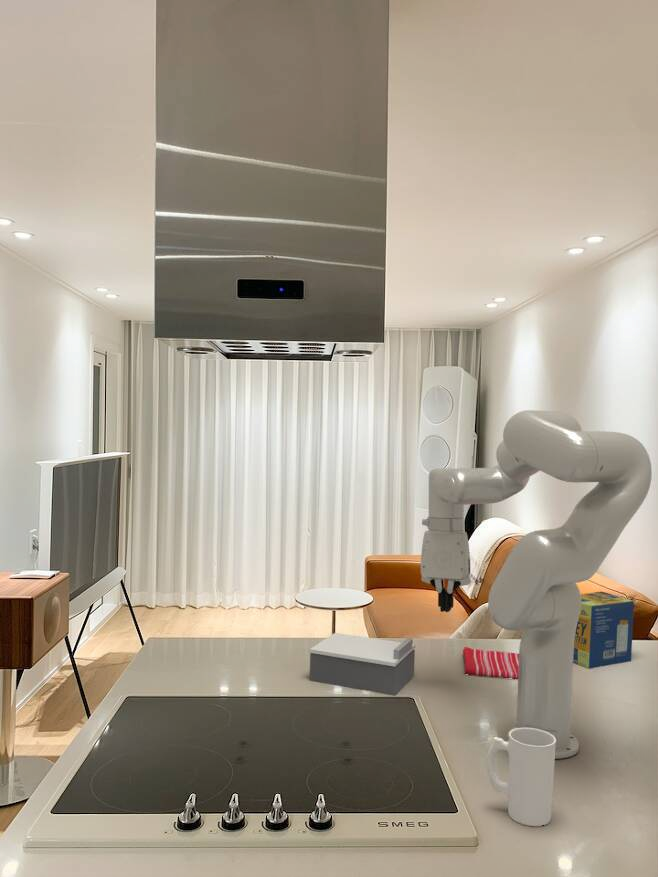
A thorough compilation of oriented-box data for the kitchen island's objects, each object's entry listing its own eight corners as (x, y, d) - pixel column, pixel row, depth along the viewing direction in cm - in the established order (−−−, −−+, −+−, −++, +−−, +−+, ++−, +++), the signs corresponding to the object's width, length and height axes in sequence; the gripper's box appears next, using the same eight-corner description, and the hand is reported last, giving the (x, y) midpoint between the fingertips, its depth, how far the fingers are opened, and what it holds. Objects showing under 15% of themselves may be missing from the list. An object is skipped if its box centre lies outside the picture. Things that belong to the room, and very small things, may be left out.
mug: (555, 810, 116) (558, 732, 115) (550, 832, 109) (553, 749, 109) (488, 796, 119) (491, 720, 119) (480, 816, 113) (483, 736, 113)
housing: (394, 695, 162) (395, 667, 162) (309, 680, 170) (310, 653, 169) (413, 675, 175) (414, 649, 174) (333, 662, 182) (334, 637, 182)
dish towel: (462, 655, 193) (462, 645, 193) (559, 663, 189) (559, 652, 189) (462, 677, 176) (462, 666, 176) (568, 686, 172) (568, 675, 172)
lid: (395, 666, 161) (395, 653, 161) (309, 652, 169) (309, 640, 169) (415, 648, 175) (415, 636, 175) (335, 636, 183) (335, 624, 183)
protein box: (556, 656, 192) (558, 596, 192) (600, 649, 200) (602, 591, 199) (588, 669, 183) (590, 605, 183) (632, 661, 190) (635, 600, 190)
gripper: (407, 525, 163) (407, 611, 163) (476, 528, 158) (476, 617, 157) (417, 522, 170) (417, 604, 170) (484, 525, 165) (484, 610, 164)
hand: (445, 610), depth 164 cm, fingers closed
